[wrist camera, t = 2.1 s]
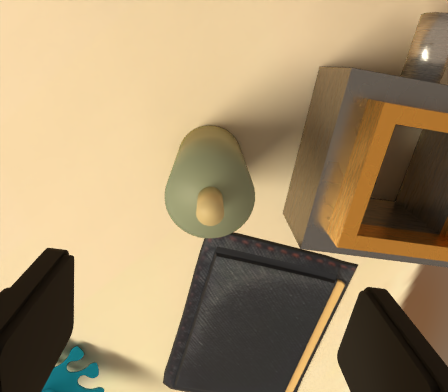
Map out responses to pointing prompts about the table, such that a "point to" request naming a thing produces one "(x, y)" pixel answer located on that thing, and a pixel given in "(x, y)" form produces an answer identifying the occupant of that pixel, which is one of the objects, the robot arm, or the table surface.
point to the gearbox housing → (376, 158)
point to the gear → (71, 375)
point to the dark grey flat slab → (254, 316)
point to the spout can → (209, 184)
